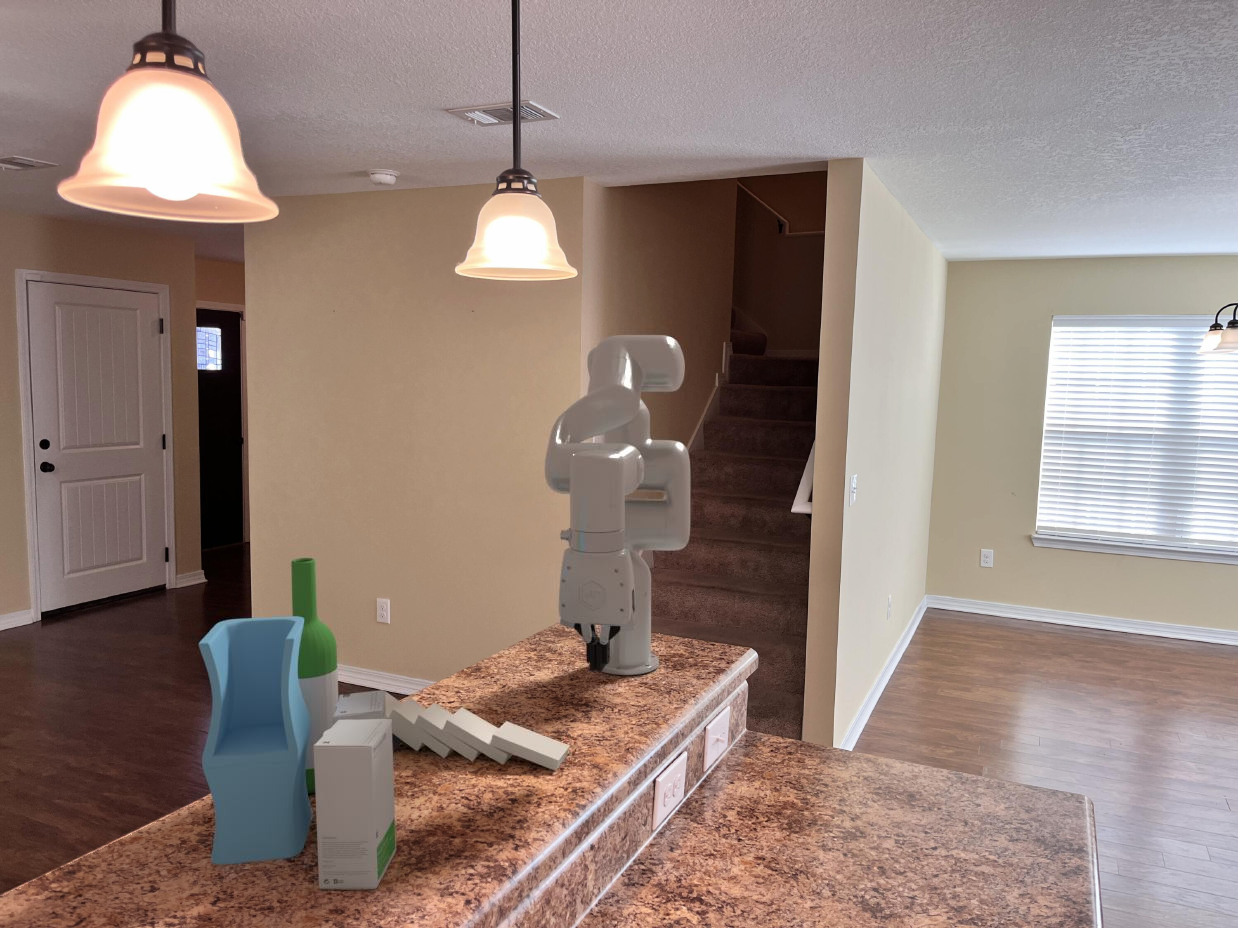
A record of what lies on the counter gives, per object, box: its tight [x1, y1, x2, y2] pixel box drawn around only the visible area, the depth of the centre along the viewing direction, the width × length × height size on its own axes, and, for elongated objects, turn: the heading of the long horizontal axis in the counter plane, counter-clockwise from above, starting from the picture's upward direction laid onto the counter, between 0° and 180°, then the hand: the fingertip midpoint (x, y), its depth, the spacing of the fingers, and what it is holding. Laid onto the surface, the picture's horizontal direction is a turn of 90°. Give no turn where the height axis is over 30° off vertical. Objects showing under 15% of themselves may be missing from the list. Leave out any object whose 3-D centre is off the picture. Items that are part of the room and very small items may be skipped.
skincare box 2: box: [314, 719, 397, 890], centre depth 95 cm, size 8×7×16 cm
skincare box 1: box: [333, 689, 386, 725], centre depth 106 cm, size 8×6×15 cm
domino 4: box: [443, 706, 513, 765], centre depth 125 cm, size 2×5×10 cm
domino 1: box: [385, 690, 426, 752], centre depth 128 cm, size 2×5×10 cm
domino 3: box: [414, 702, 483, 762], centre depth 126 cm, size 2×5×10 cm
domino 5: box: [490, 720, 571, 772], centre depth 123 cm, size 2×5×10 cm
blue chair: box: [198, 615, 314, 866], centre depth 101 cm, size 10×10×25 cm
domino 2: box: [389, 696, 455, 759], centre depth 127 cm, size 2×5×10 cm
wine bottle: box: [290, 557, 339, 794], centre depth 115 cm, size 8×8×30 cm
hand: (598, 667), depth 123 cm, fingers closed
